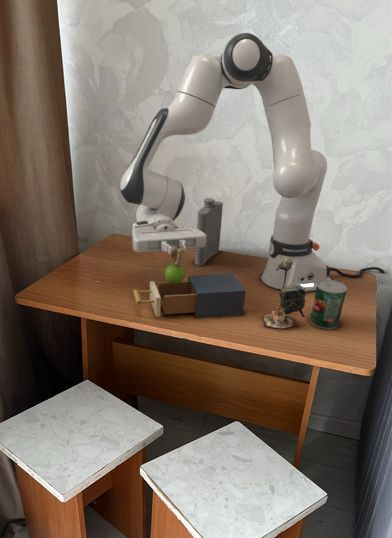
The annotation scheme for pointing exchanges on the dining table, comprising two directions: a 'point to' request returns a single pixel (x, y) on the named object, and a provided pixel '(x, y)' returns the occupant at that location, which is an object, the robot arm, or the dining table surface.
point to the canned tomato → (328, 304)
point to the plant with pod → (287, 300)
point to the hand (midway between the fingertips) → (178, 250)
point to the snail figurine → (175, 267)
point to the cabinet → (218, 295)
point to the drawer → (170, 297)
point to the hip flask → (209, 229)
